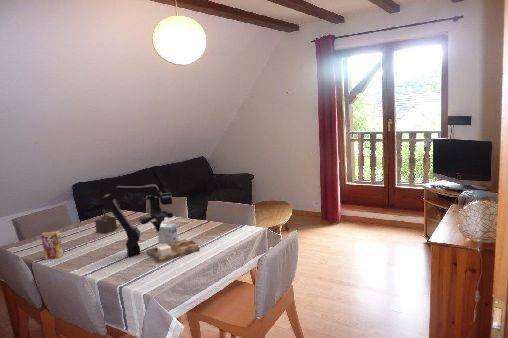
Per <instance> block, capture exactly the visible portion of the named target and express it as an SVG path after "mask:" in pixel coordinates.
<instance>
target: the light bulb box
mask: <svg viewBox="0 0 508 338" xmlns="http://www.w3.org/2000/svg"><path fill="white" fill-rule="evenodd" d="M156 232H157V231H156ZM178 237H179V236H178V228H177V223H161V225H160V229H159V232H157V239H158V243H162V244H163V243H164V244H170V243H173V242H177V241H179V238H178Z"/></svg>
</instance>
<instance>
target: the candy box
mask: <svg viewBox="0 0 508 338" xmlns="http://www.w3.org/2000/svg"><path fill="white" fill-rule="evenodd" d="M40 236H41V243H42V247H43V253H44V258H45V260H50V259H60V258H61V257H63V256H64V253H63V252H64V251H63V247H62V246H63V245H62V239H61V234H60V231H50V232H49V231H48V232H47V231H46V232H43V233H41V235H40Z"/></svg>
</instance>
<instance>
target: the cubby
mask: <svg viewBox="0 0 508 338" xmlns="http://www.w3.org/2000/svg"><path fill="white" fill-rule="evenodd" d="M187 240H188V241H184V242H181V243H177V244H173V248H177V247H180V246H184V245H187V244H193V245H191V246H187V247H184V248H181V249H179V251H180V253H181V252H184V251H188V250H191V249H194V248H198V247H199V244H198V243H197V242H195V241H194V240H193V239H187Z"/></svg>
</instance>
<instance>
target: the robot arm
mask: <svg viewBox="0 0 508 338" xmlns="http://www.w3.org/2000/svg"><path fill="white" fill-rule="evenodd" d="M120 194H141V195H146V197H145V201H148V202H149V210H150V216H149V217H147V216H146V215H145V216H142V217H139V219H138V221H139V223H140V225H147V224H149V223H151V224H152V225H153V226H154V229H155V231H156V232H159V229H160V225H161V224H162V222H164V221H165V218H167V219H171V218H174V214H173V212H171V211H169V210H168V211H167V210H162V207H161V205H163V206H166V205H167V206H168V205H173V201H174V200H173V197H172V192H167V193H162V191H161V190H160V189H159V186H158V185H157V184H155V183H154V184H153V183H151V184H146V185H141V186H140V185H138V186H137V185H136V186H135V185H117V186H116V188H114V189H113V190H112V191H111V192H110V193H107V194H105V195H104V197H102V199H101V204H102V205H103V206H104V207H105V208H106V209H107V210H108V211H109V210H110V212H111V213H112V214H113V215H114V216H113V217H116V221H117V222H119V224H120V225H121V227H122V228H123V229H124V231H125V233H126V237H127V240H126V242H125V248H126V256H127V257H129V258H131V257H135V256H139V255H141V248H140V245H139V243H138V242H139V241H140V238H141V230H140V229H139V228H138V227H137V225H136V226H133V225H132V224H131V222H130V221H129V220H128V219H127V217H126V215H124V213H123V212H122V210H121V209H120V207H118V205H117V204H118V202H117V200H116V198H117V197H118V196H119V195H120ZM160 204H161V205H160Z"/></svg>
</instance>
